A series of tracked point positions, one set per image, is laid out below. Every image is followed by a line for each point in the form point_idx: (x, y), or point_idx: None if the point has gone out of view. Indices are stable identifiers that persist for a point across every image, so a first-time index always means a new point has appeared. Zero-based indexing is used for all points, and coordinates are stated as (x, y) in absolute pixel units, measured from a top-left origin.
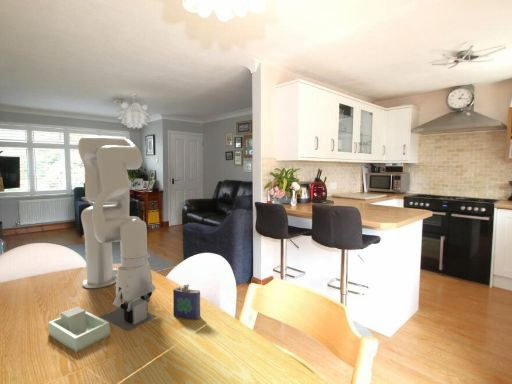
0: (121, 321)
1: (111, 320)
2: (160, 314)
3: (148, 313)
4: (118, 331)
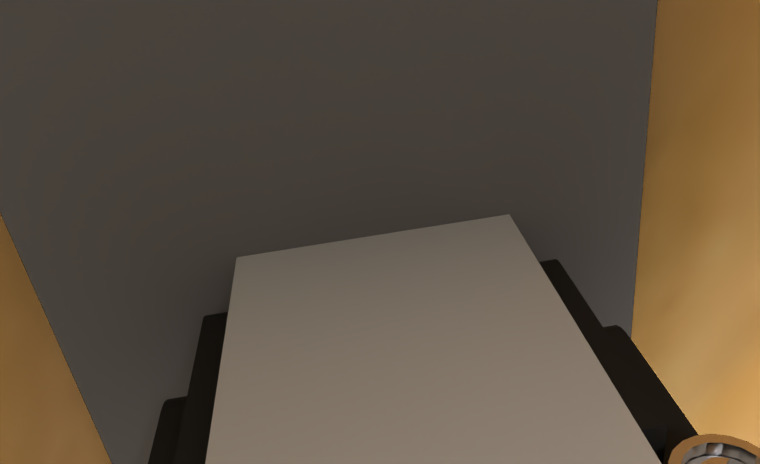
0: (163, 248)
1: (2, 71)
2: (698, 416)
3: (616, 322)
4: (39, 438)
